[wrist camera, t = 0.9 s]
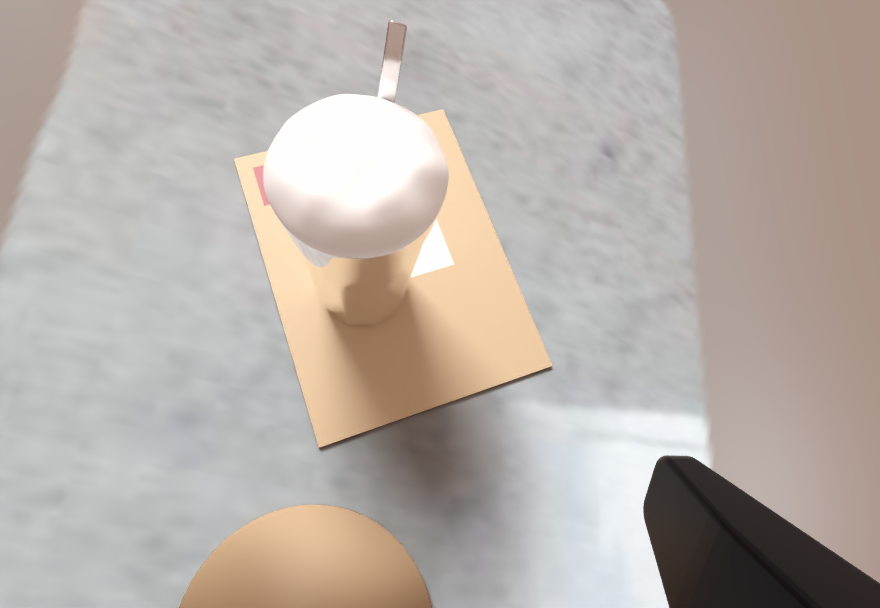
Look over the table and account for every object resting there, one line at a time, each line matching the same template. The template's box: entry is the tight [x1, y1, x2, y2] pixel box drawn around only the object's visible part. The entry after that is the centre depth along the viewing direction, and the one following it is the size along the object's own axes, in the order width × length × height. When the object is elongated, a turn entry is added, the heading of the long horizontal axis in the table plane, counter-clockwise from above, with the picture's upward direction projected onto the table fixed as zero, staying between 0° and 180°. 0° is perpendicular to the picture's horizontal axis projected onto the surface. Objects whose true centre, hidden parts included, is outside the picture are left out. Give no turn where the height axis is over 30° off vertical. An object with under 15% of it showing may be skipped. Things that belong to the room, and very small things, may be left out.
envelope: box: [234, 109, 552, 448], centre depth 23 cm, size 12×9×1 cm
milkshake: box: [263, 20, 449, 326], centre depth 18 cm, size 4×5×10 cm
